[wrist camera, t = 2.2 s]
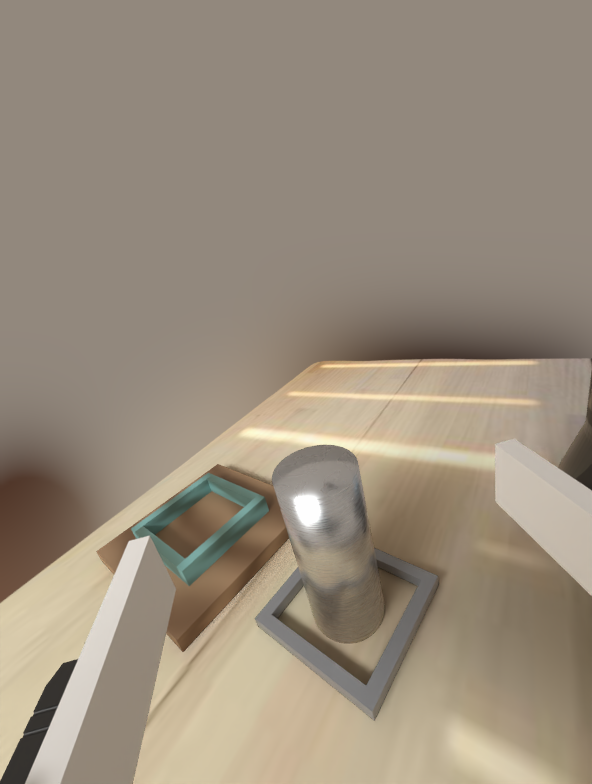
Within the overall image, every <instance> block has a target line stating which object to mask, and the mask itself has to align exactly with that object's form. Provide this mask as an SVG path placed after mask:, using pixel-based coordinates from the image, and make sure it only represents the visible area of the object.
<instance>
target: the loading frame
mask: <svg viewBox="0 0 592 784" xmlns="http://www.w3.org/2000/svg"><path fill="white" fill-rule="evenodd" d="M374 551H375V556H376V561H377V567H379V568H381V569H383V570H385V571H387V572H389V573H392V574H394V575H396V576H398V577H400V578H402V579H404V580H406V581H408V582H410V583H412V584H415V585H417V586H418V587H417V589H416V591H415V593H414V595H413V597H412V598H411V600H410V602H409V604H408V606H407V608H406V610H405V612H404V614H403V616H402V618H401V620H400V622H399V624H398V625H397V627H396V629H395V631H394V633H393V635H392V637H391V639H390V641H389V643H388V645H387V647H386V649H385V651H384V652H383V654H382V656H381V658H380V660H379V662H378V664H377V666H376V668H375V670H374V672H373V674H372V676H371V677H370V679H369V681H368V683H367V685H365V684H363V683H362V682H361V681H359V680H358V679H357V678H355V677H354V676H353V675H351V674H350V673H349V672H347V671H346V670H345V669H343V668H342V667H341V666H339V665H338V664H337V663H335V662H334V661H333V660H331V659H330V658H329V657H327V656H326V655H325V654H323V653H322V652H321V651H319V650H318V649H317V648H315V647H314V646H313V645H311V644H310V643H309V642H307V641H306V640H305V639H303V638H302V637H301V636H299V635H298V634H297V633H295V632H294V631H293V630H291V629H290V628H289V627H287V626H286V625H285V624H283V623H282V622H281V621H279V620H278V619H277V618H278V617H279V616H280V615H281V613H282V612H283V611H284V610H285V608H286V607H287V606H288V604H289V603H290V602H291V601H292V599H293V598H294V597H295V596H296V594H297V593H298V592H299V591H300V589H301V588H302V587H303V585H304V584H303V580H302V577H301V574H300V571H299V567H298V568H297V569H296V570H295V571H294V572H293V574H292V575H291V576H290V577H289V578H288V580H287V581H286V582H285V583H284V584H283V585H282V587H281V588H280V589H279V590H278V591H277V593H276V594H275V595H274V596H273V597H272V599H271V600H270V601H269V602H268V603H267V605H266V606H265V607H264V608H263V609H262V610H261V612H260V613H259V614H258V615H257V616H256V618H255V620H256V623H257V625H258V627H260V628H261V629H262V630H263V631H264V632H266V633H267V634H268V635H269V636H271V637H272V638H273V639H274V640H276V641H277V642H278V643H279V644H281V645H282V646H283V647H284V648H285V649H287V650H288V651H289V652H290V653H292V654H293V655H294V656H295V657H297V658H298V659H299V660H300V661H301V662H303V663H304V664H305V665H306V666H308V667H309V668H310V669H311V670H313V671H314V672H315V673H316V674H318V675H319V676H320V677H321V678H322V679H324V680H325V681H326V682H327V683H329V684H330V685H331V686H332V687H334V688H335V689H336V690H337V691H338V692H340V693H341V694H342V695H343V696H345V697H346V698H347V699H348V700H350V701H351V702H352V703H353V704H354V705H356V706H357V707H358V708H359V709H361V710H362V711H363V712H364V713H366V714H367V715H368V716H369V717H371V718H372V719H373V720H375V718H376V716H377V714H378V712H379V710H380V708H381V706H382V704H383V701H384V699H385V697H386V695H387V693H388V691H389V689H390V687H391V684H392V682H393V680H394V678H395V676H396V674H397V672H398V670H399V668H400V665H401V663H402V661H403V659H404V657H405V655H406V653H407V651H408V648H409V646H410V644H411V642H412V640H413V638H414V636H415V634H416V632H417V629H418V627H419V625H420V623H421V621H422V619H423V617H424V615H425V612H426V610H427V608H428V606H429V604H430V602H431V600H432V598H433V595H434V593H435V591H436V589H437V587H438V585H439V582H438V576H437V575H435V574H432V573H430V572H428V571H426V570H423V569H421V568H419V567H417V566H414V565H412V564H410V563H407V562H405V561H403V560H401V559H398V558H396V557H394V556H392V555H389V554H387V553H385V552H383V551H380V550H378V549H376V548H374Z"/></svg>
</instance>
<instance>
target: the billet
mask: <svg viewBox="0 0 592 784" xmlns="http://www.w3.org/2000/svg"><path fill="white" fill-rule="evenodd" d="M272 483H273V486H274V489H275V493H276V496H277V499H278V502H279V506H280V509H281V512H282V515H283V519H284V522H285V525H286V528H287V532H288V535H289V538H290V541H291V545H292V548H293V551H294V554H295V558H296V561H297V564H298V567H299V571H300V574H301V577H302V580H303V584H304V587H305V590H306V593H307V596H308V600H309V603H310V606H311V609H312V613H313V616H314V619H315V622H316V624H317V626H318V628H319V629H320V630H321V632H322V633H323V634H324V635H326V636H327V637H328V638H330V639H332V640H334V641H336V642H340V643H357V642H360V641H363V640H365V639H367V638H368V637H370V636H371V635H372V634H374V633H375V631H376V630H377V629H378V628H379V626H380V625H381V622H382V620H383V617H384V612H385V605H384V598H383V593H382V588H381V582H380V577H379V572H378V567H377V561H376V556H375V551H374V545H373V540H372V535H371V529H370V524H369V519H368V513H367V508H366V503H365V497H364V492H363V487H362V481H361V476H360V471H359V465H358V461H357V458H356V457H355V455H354V454H353V453H352V452H350V451H349V450H347V449H345V448H343V447H339V446H334V445H317V446H311V447H307V448H304V449H301V450H298V451H296V452H294V453H292V454H290V455H289V456H287V457H286V458H284V459H283V460H282V461H281V462H280V463H279V464H278V465H277V467H276V468H275V470H274V472H273V475H272Z"/></svg>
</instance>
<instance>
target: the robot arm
mask: <svg viewBox="0 0 592 784" xmlns="http://www.w3.org/2000/svg"><path fill="white" fill-rule="evenodd" d="M495 502H496V503H497V504H498V505H499V506H500V507H501V508H502V509H503V510H504V511H505V512H506V513H507V514H508V515H509V516H510V517H511V518H512V519H513V520H514V521H515V522H516V523H518V524H519V525H520V526H521V527H522V528H523V529H524V530H525V531H526V532H527V533H528V534H529V535H530V536H531V537H532V538H533V539H534V540H535V541H536V542H537V543H538V544H539V545H540V546H541V547H542V548H543V549H544V550H545V551H546V552H547V553H548V554H549V555H550V556H551V557H552V558H553V559H554V560H555V561H556V562H557V563H558V564H559V565H560V566H561V567H562V568H563V569H564V570H566V571H567V572H568V573H569V574H570V575H571V576H572V577H573V578H574V579H575V580H576V581H577V582H578V583H579V584H580V585H581V586H582V587H583V588H584V589H585V590H586V591H587V592H588V593H589V594H590V595H591V596H592V372H591V380H590V389H589V397H588V407H587V416H586V421H585V423H584V425H583V427H582V428H581V430H580V432H579V433H578V435H577V436H576V438H575V440H574V441H573V443H572V445H571V446H570V448H569V449H568V451H567V453H566V454H565V456H564V458H563V459H562V461H561V463H560V465H559V468H557V467H556V466H554V465H553V464H551V463H550V462H548V461H547V460H546V459H544V458H543V457H541V456H540V455H538V454H537V453H535V452H534V451H532V450H531V449H529V448H528V447H526V446H525V445H523V444H522V443H520V442H519V441H517V440H516V439H511V440H508V441H504V442H500V443H496V444H495ZM175 591H176V588H175V586H174V584H173V582H172V580H171V577H170V575H169V573H168V571H167V569H166V567H165V565H164V563H163V561H162V559H161V557H160V555H159V553H158V551H157V549H156V547H155V545H154V543H153V541H152V539H151V537H150V536H146V537H142V538H139V539H135V540H131V541H129V542H128V544H127V547H126V549H125V551H124V554H123V556H122V558H121V561H120V563H119V565H118V568H117V570H116V572H115V575H114V577H113V579H112V582H111V584H110V586H109V589H108V591H107V593H106V596H105V598H104V600H103V603H102V605H101V607H100V610H99V612H98V614H97V617H96V619H95V621H94V624H93V626H92V628H91V631H90V633H89V635H88V638H87V640H86V642H85V645H84V647H83V649H82V652H81V654H80V656H79V659H77V660H73V661H69V662H66V663H63V664H62V665H61V667H60V668H59V669H58V671H57V672H56V673H55V675H54V676H53V677H52V679H51V680H50V681H49V683H48V684H47V685H46V687H45V689H44V691H43V693H42V695H41V697H40V699H39V701H38V703H37V705H36V707H35V710H34V715H33V716H32V717H31V718H30V720H29V722H28V724H27V726H26V728H25V730H24V736H23V738H21V739H20V741H19V743H18V745H17V747H16V749H15V751H14V754H13V756H12V758H11V760H10V762H9V764H8V766H7V768H6V770H5V772H4V774H3V777H2V779H1V781H0V784H133V780H134V776H135V771H136V767H137V762H138V758H139V753H140V749H141V744H142V740H143V735H144V731H145V726H146V722H147V717H148V713H149V708H150V704H151V699H152V695H153V690H154V686H155V681H156V677H157V672H158V668H159V663H160V659H161V654H162V650H163V645H164V641H165V636H166V632H167V627H168V623H169V618H170V614H171V609H172V605H173V600H174V596H175Z"/></svg>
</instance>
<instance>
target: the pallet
mask: <svg viewBox="0 0 592 784" xmlns="http://www.w3.org/2000/svg"><path fill="white" fill-rule="evenodd" d="M146 536H150V537H151V539H152V541H153V543H154V545H155V547H156V549H157V551H158V553H159V555H160V557H161V559H162V561H163V563H164V565H165V567H166V569H167V571H168V573H169V575H170V577H171V580H172V582H173V584H174V586H175V588H176V591H175V596H174V600H173V605H172V609H171V614H170V618H169V623H168V627H167V632H166V634H167V635H168V636H169V637H170V638H171V639H172V640H173V641H174V643H175V644H176V645H177V646H178V647H179V648H180V649H181V651H182V652H183V651H184V650H185V649H186V648H187V647H188V646H189V645H190V644H191V643H192V642H193V641H194V640H195V638H196V637H197V636H198V635H199V634H200V633H201V632H202V631H203V630H204V629H205V628H206V627H207V626H208V624H209V623H210V622H211V621H212V620H213V619H214V618H215V617H216V616H217V615H218V614H219V613H220V612H221V610H222V609H223V608H224V607H225V606H226V605H227V604H228V603H229V602H230V601H231V600H232V599H233V598H234V596H235V595H236V594H237V593H238V592H239V591H240V590H241V589H242V588H243V587H244V586H245V585H246V584H247V582H248V581H249V580H250V579H251V578H252V577H253V576H254V575H255V574H256V573H257V572H258V571H259V570H260V568H261V567H262V566H263V565H264V564H265V563H266V562H267V561H268V560H269V559H270V558H271V557H272V556H273V554H274V553H275V552H276V551H277V550H278V549H279V548H280V547H281V546H282V545H283V544H284V543H285V542H286V540H287V539H288V538H289V535H288V532H287V528H286V525H285V522H284V519H283V515H282V512H281V509H280V506H279V502H278V499H277V496H276V493H275V489H274V486H272V485H270V484H267V483H265V482H262V481H260V480H257V479H255V478H252V477H249V476H247V475H244V474H242V473H239V472H237V471H234V470H232V469H229V468H227V467H224V466H221V465H219V464H217V465H216V466H215V467H213V468H212V469H210V470H209V471H208V472H206V473H205V474H203V475H202V476H201V477H199V478H198V479H197V480H195V481H194V482H192V483H191V484H190V485H188V486H187V487H185V488H184V489H183V490H181V491H180V492H178V493H177V494H176V495H174V496H173V497H172V498H170V499H169V500H167V501H166V502H165V503H163V504H162V505H160V506H159V507H158V508H156V509H155V510H153V511H152V512H151V513H149V514H148V515H147V516H145V517H144V518H142V519H141V520H140V521H138V522H137V523H135V524H134V525H133V526H131V527H130V528H128V529H127V530H126V531H124V532H123V533H121V534H120V535H119V536H117V537H116V538H115V539H113V540H112V541H110V542H109V543H108V544H106V545H105V546H103V547H102V548H101V549H99V550H98V551H96V552H97V554H98V555H99V557H100V559H101V560H102V562H103V563H104V564H105V565H106V566H107V567H108V568H109V569H110V571H111V572H112V573H113V574H114V575H115V572H116V570H117V568H118V565H119V563H120V561H121V558H122V556H123V554H124V551H125V549H126V547H127V544H128V542H129V541H131V540H135V539H139V538H142V537H146Z"/></svg>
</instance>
